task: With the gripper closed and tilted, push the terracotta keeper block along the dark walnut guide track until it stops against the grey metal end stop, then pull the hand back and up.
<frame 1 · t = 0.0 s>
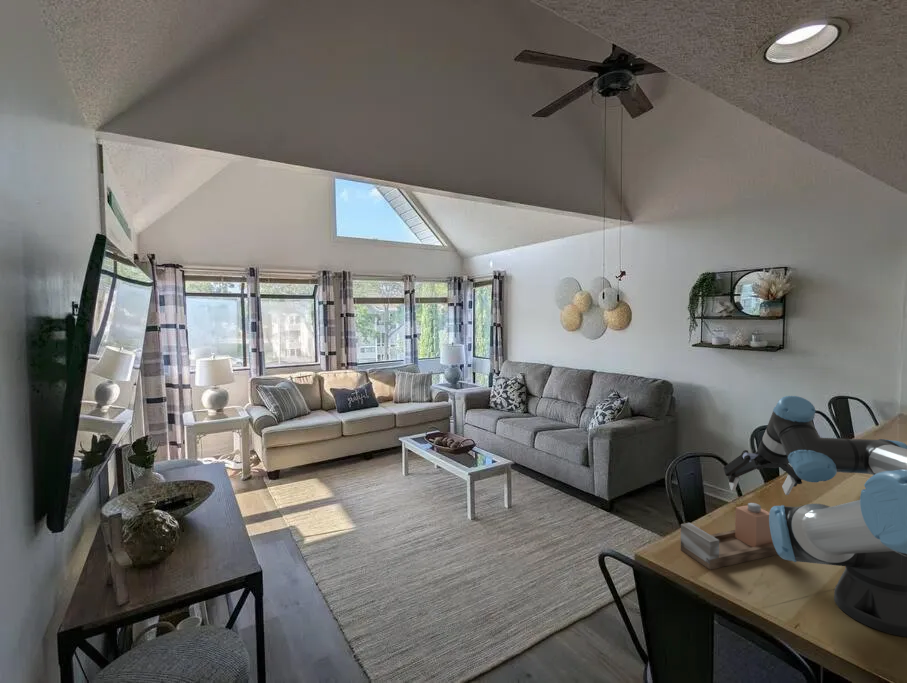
hand: (758, 489, 127), 15 cm above the table, fingers open, 13 cm apart
track: (731, 551, 122), on the table
keeper: (753, 523, 124), point 7 cm above the table, slide at 0.0 cm
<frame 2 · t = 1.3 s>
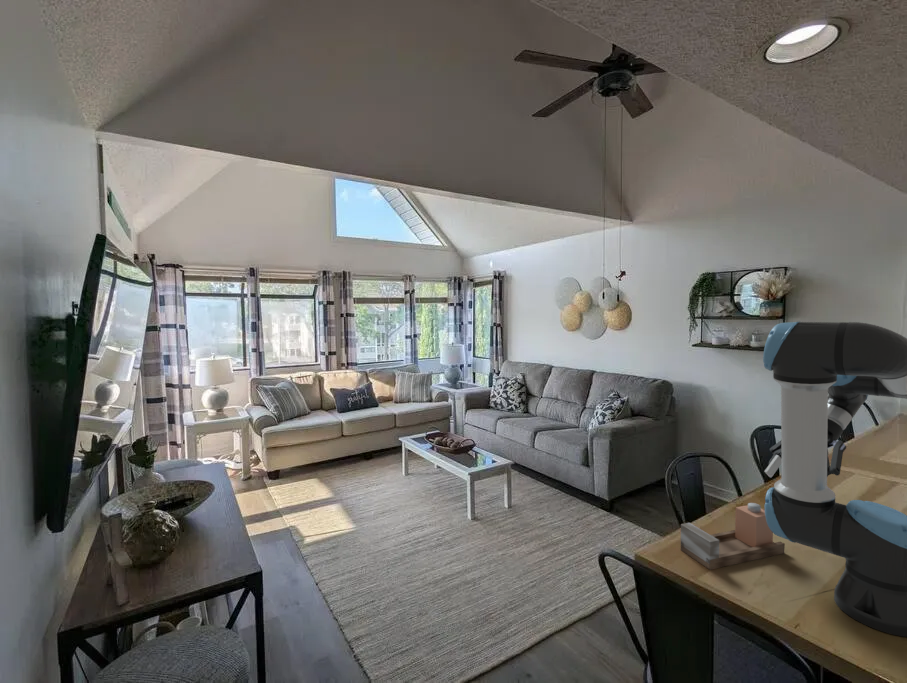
hand: (787, 481, 126), 17 cm above the table, fingers open, 11 cm apart
nothing on the table moved.
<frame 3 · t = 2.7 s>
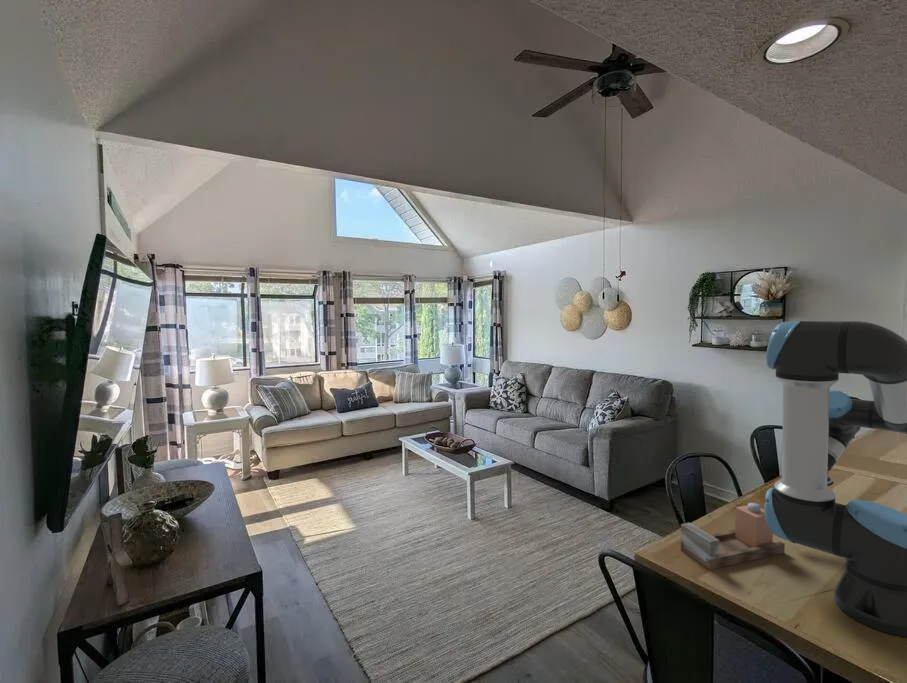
hand: (776, 516, 126), 7 cm above the table, fingers closed
nothing on the table moved.
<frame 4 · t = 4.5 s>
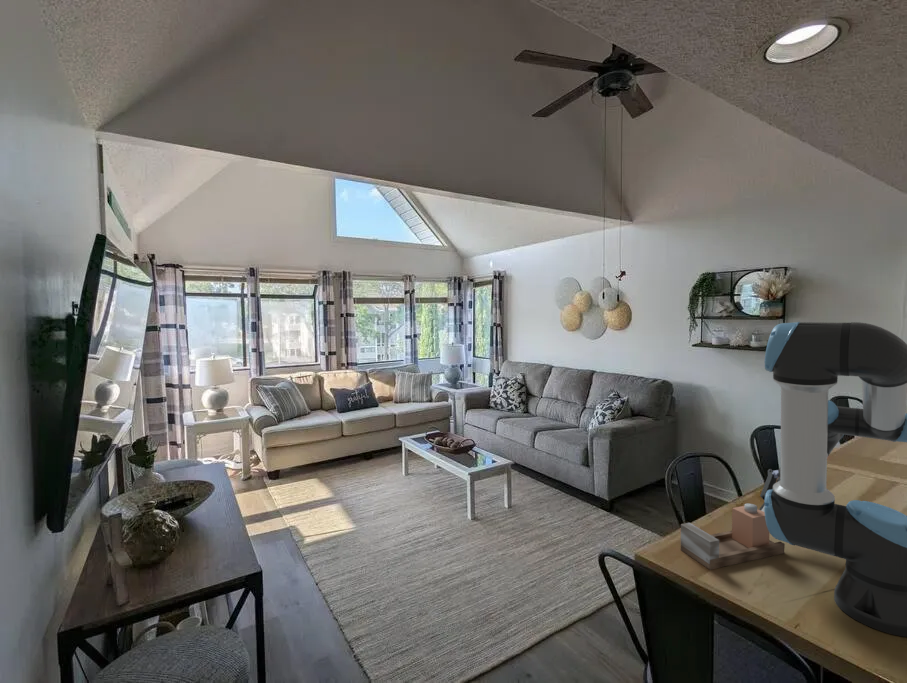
hand: (759, 523, 126), 6 cm above the table, fingers closed
keeper: (750, 523, 124), point 7 cm above the table, slide at 1.2 cm, touching gripper
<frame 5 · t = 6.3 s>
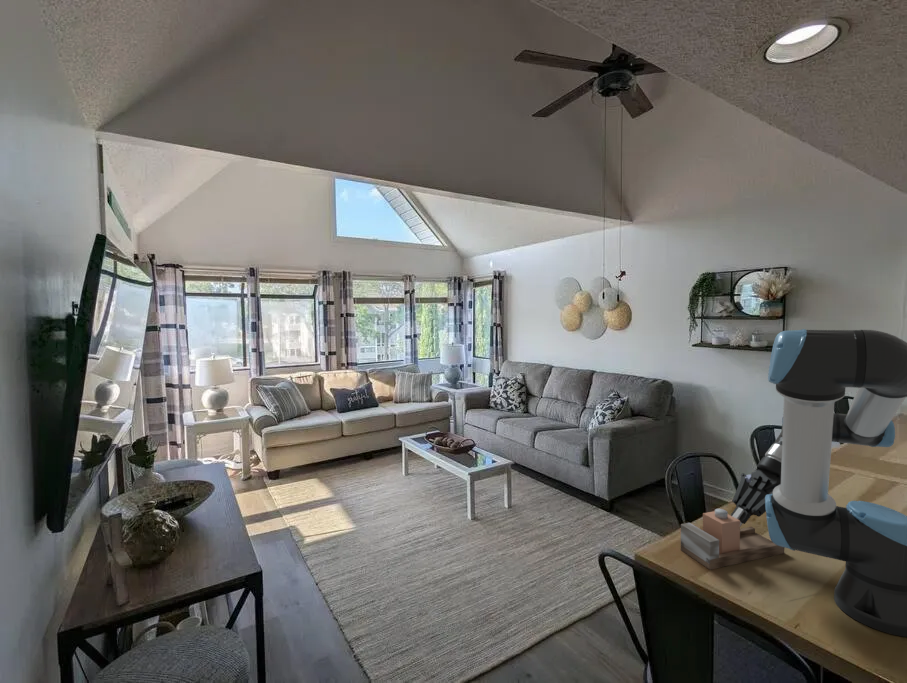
hand: (730, 529, 123), 6 cm above the table, fingers closed
keeper: (720, 529, 121), point 7 cm above the table, slide at 11.5 cm, touching gripper
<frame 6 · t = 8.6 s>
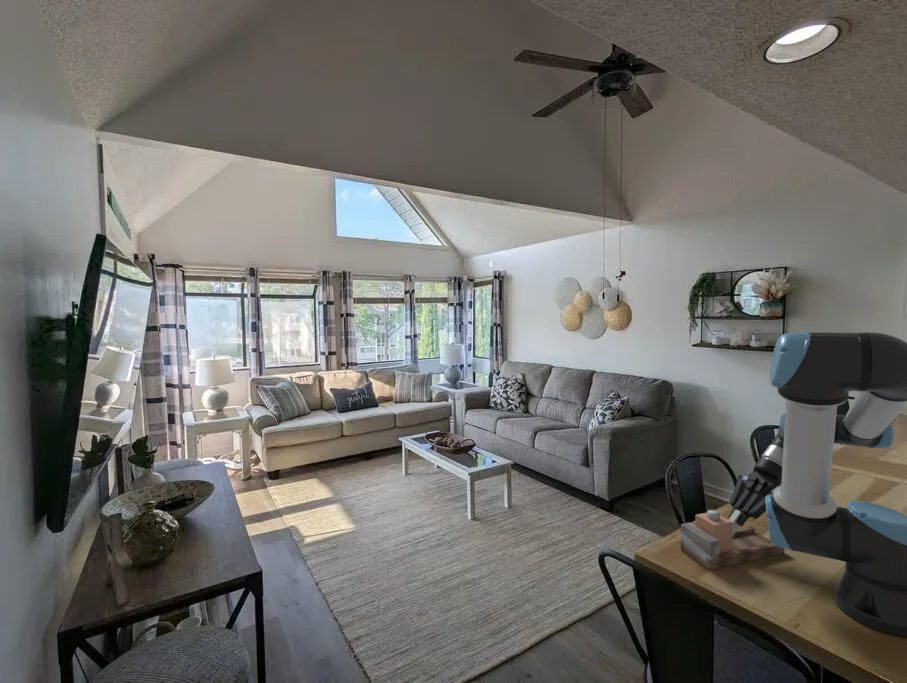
hand: (727, 531, 122), 6 cm above the table, fingers closed
keeper: (713, 531, 120), point 7 cm above the table, slide at 14.0 cm
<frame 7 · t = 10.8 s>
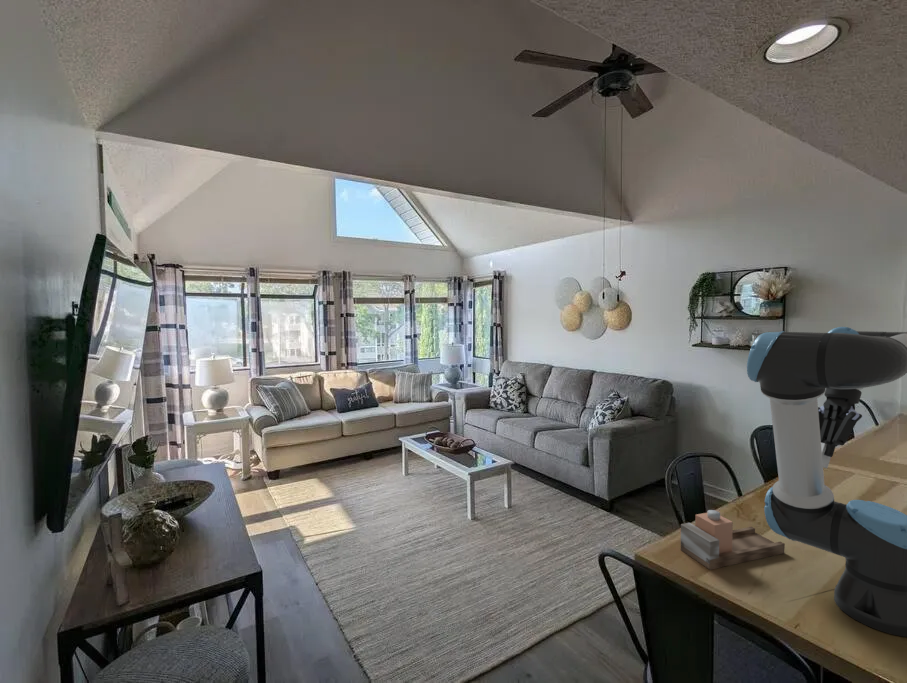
hand: (820, 466, 124), 23 cm above the table, fingers closed
nothing on the table moved.
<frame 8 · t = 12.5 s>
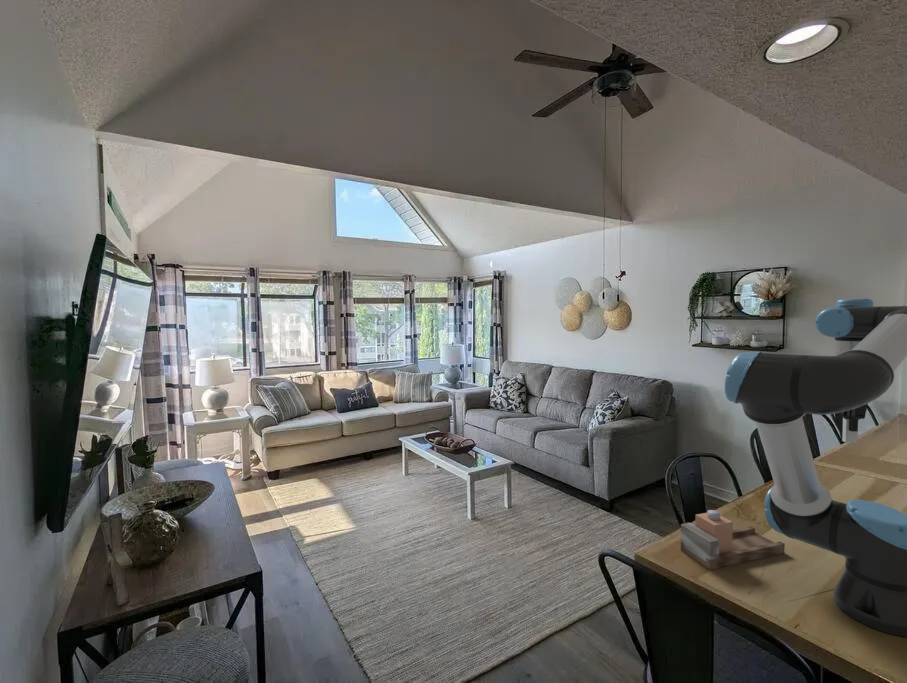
hand: (849, 441, 120), 30 cm above the table, fingers closed
nothing on the table moved.
at the end: keeper slide at 14.0 cm; keeper moved 14.0 cm from its start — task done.
